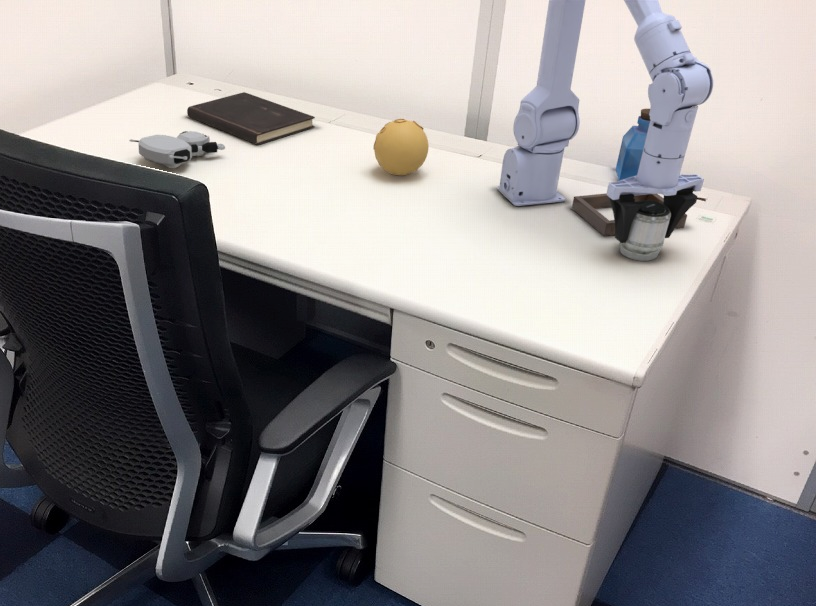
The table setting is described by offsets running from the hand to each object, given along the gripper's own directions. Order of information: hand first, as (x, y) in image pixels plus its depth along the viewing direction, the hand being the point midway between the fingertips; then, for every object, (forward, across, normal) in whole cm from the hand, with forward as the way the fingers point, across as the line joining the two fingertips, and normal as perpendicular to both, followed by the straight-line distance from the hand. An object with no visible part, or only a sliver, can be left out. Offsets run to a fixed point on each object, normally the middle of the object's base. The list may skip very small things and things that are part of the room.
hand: (642, 237), depth 131 cm
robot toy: (+3, -65, +55) cm, 85 cm away
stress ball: (+3, -26, +39) cm, 47 cm away
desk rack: (+2, +5, +12) cm, 13 cm away
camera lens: (+3, 0, 0) cm, 3 cm away
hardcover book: (+3, -48, +73) cm, 87 cm away
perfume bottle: (+3, +16, +28) cm, 32 cm away
